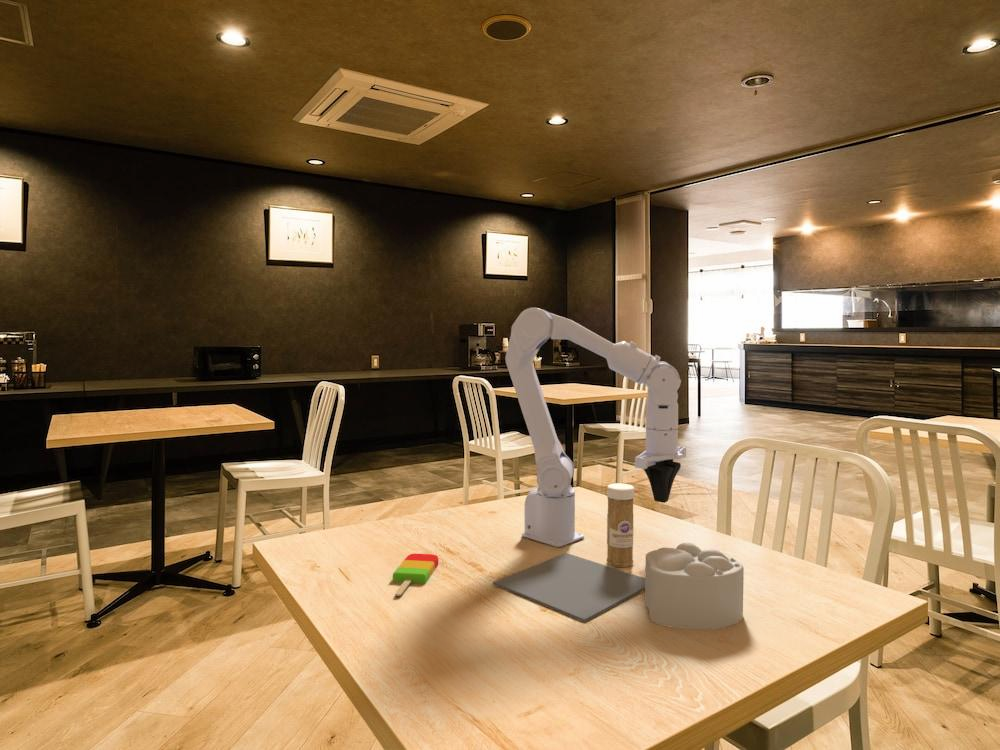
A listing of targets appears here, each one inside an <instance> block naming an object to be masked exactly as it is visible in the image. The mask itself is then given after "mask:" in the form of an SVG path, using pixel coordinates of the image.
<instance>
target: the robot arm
mask: <svg viewBox="0 0 1000 750" xmlns="http://www.w3.org/2000/svg"><path fill="white" fill-rule="evenodd" d="M549 339H550V340H567V341H570V342H573V343H574V344H575V345H579V346H580V347H582V348H585V349H586V350H588V351H591V352H593V353H594V354H597V355H598V356H601V357H603V358H604V359H606V361H607V362H606V363H607V365H608V368H609V369H610V370H611V371H613V372H615V373H617V374H620V375H621V376H623V377H625V378H627V379H629V380H630V381H633V382H634V383H637V384H638V385H641V384H645V386H646V387H647V388H648V389H647V401H646V403H645V450H644V451H643V452H642V453H640V454H639V455H637V456H635V457H634V467H635V468H636V469H642V470H643V471H644V473H645V474H646V476H647V478H648V481H649V484H650V488H651V491H652V497H653V500H654V502H658V503H662V504H663V503H668V502H669V498H670V494H671V490H672V486H673V483H674V481H675V479H676V476H677V474H678V472H679V471H680V469H681V462H676V461H674V460H680V459H684V458H686V457H687V447H685V446H679V403H678V399H679V393H678V390H679V388H680V387H681V383H682V379H680V378H681V377H680V374H679V371H678V370H677V369H676V368H675V367H674V366H673V365H671V364H670V363H668V362H667V361H663V360H662V361H661V356H659V355H657V354H655V355H652V354H650V353H648V352H646V351H645V350H642V349H641V348H638V347H637V346H638V344H637V342H634V341H630V342H627V341H625V340H623V341H619V342H617V343H613V342H611V341H609V340H607V338H604V337H602V336H601V335H598V334H597V333H595V332H594V331H591V330H590V329H588V328H586V327H585V326H583V325H581V324H580V323H578V322H575V321H574V320H572V319H569V318H566V317H564V316H560V315H557V314H554V313H552V312H550V311H547V310H546V309H541V308H538V307H529V308H525V309H524V310H523V311H521V312H520V314H519V315H518V317H517V318H516V320H515V321H514V322H513V323H512V325H511V332H510V337H509V341H508V344H507V348H506V349H507V350H506V353H505V358H504V359H505V364H506V367H507V371H508V372H509V376H510V379H511V381H512V385H513V388H514V391H515V394H516V398H517V399H518V403H519V406H520V409H521V410H520V411H521V413H522V415H523V419H524V421H525V424H526V428H527V430H528V433H529V436H530V439H531V443H532V445H533V451H534V461H535V464H536V467H537V474H536V483H537V488H532V489H531V490H530V491H529V492H528V493H527V494H526V497H525V500H524V532H522V533H521V536H522V537H525V538H527V539H530V540H533V541H537V542H539V543H543V544H547V545H549V546H552V547H556V548H561V547H563V546H566V545H568V544H572V543H574V542H577V541H580V540H582V539H585V535H584V534H582V533H578V532H576V528H575V526H576V525H575V524H576V521H575V520H576V519H575V518H576V517H575V516H576V515H575V514H576V500H575V499H576V497H575V496H576V490H575V488H574V487H572V485H571V482H572V479H573V477H574V475H575V466H574V462H573V461H572V460H571V458H570V457H569V456H568V455H567V454H566V452H565V451H564V447H563V446H562V443H561V441H560V440H559V438H558V436H557V433H556V430H555V429H556V428H555V426H554V423H553V420H552V417H551V414H550V411H549V408H548V405H547V401H546V399H545V397H544V393H543V390H542V387H541V383H540V381H539V378H538V377H539V376H538V375H537V372H536V368H535V365H534V362H533V361H534V360H535V357H536V355H537V354H538V352H539V351H540V348H541V347H542V346H543V345H544V344H545V343H547V341H548V340H549Z"/></svg>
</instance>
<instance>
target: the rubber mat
mask: <svg viewBox="0 0 1000 750" xmlns="http://www.w3.org/2000/svg"><path fill="white" fill-rule="evenodd" d="M492 585H494V586H497V587H499V588H501V589H503V590H504V591H508V592H510V593H513V594H515V595H518V596H520V597H523V598H525V599H527V600H530V601H532V602H534V603H537V604H540V605H542V606H544V607H547V608H549V609H552V610H554V611H557V612H559V613H561V614H562V615H563V614H564V615H566V616H569V617H570V618H573V619H576V620H579V621H581V622H582V623H586V622H588V621H590V620H592V619H593V618H596V617H597V616H599V615H601V614H604V613H605V612H607V611H609V610H610V609H612V608H613V607H616V606H617V605H620V604H621V603H623V602H625V601H626V600H629V599H630V598H632V597H634V596H636V595H638V594H640V593H642V592H645V577H643V576H639V575H636V574H633V573H630V572H628V571H624V570H620V569H619V568H618V569H617V568H614V567H613V566H612V567H611V566H607V565H605V564H602V563H599V562H595V561H592V560H590V559H586V558H583V557H580V556H577V555H574V554H572V553H568V552H565V553H561V554H559V555H556V556H554V557H552V558H549V559H547V560H545V561H541V562H539V563H537V564H535V565H532V566H529V567H527V568H525V569H522V570H519V571H516V572H515V573H512V574H510V575H509V574H508V575H506V576H504V577H502V578H499V579H496V580H494V581H492Z"/></svg>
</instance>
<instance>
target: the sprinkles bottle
mask: <svg viewBox="0 0 1000 750" xmlns="http://www.w3.org/2000/svg"><path fill="white" fill-rule="evenodd" d="M606 487H607V488H606V497H607V513H606V514H607V515H606V516H607V517H606V544H607V545H606V546H607V550H606V553H607V554H606V555H607V557H606V562H607V564H608V565H610V566H612V567H616V568H617V567H618V568H628V567H631V566H632V565H633V564H634V560H633V558H634V557H633V555H634V553H633V552H634V547H633V546H634V500H635V487H634V486H633V485H632V484H630V483H629V484H627V483H619V482H618V483H610V484H608V485H607V486H606Z"/></svg>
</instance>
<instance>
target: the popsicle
mask: <svg viewBox="0 0 1000 750" xmlns="http://www.w3.org/2000/svg"><path fill="white" fill-rule="evenodd" d="M438 566H439V557H438V555H436V554H431V553H410V554H409V555H407V556H406V557H405V559H403V561H402V562H401V563H400V564H399V566H397V568H396V570H394V572H393V573H392V582H393V583H402V584H401V585H400V586H399V588H397V590H396V591H395V592H394V596H396V597H402V595H403V594H404V592H405V591H406V589H407V588H408V587H409V585H410V584H423V585H424V584H427V582H428V581H429V579H430V578H431V576H432V575H433V573H434V572H435V570H436V569H437V567H438Z"/></svg>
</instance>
